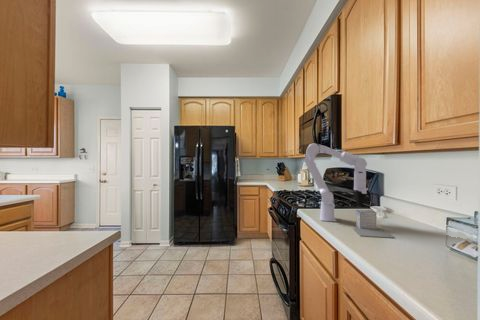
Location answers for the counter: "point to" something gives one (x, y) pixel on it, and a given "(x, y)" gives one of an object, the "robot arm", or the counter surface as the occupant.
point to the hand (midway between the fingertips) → (359, 205)
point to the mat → (373, 233)
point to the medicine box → (366, 219)
